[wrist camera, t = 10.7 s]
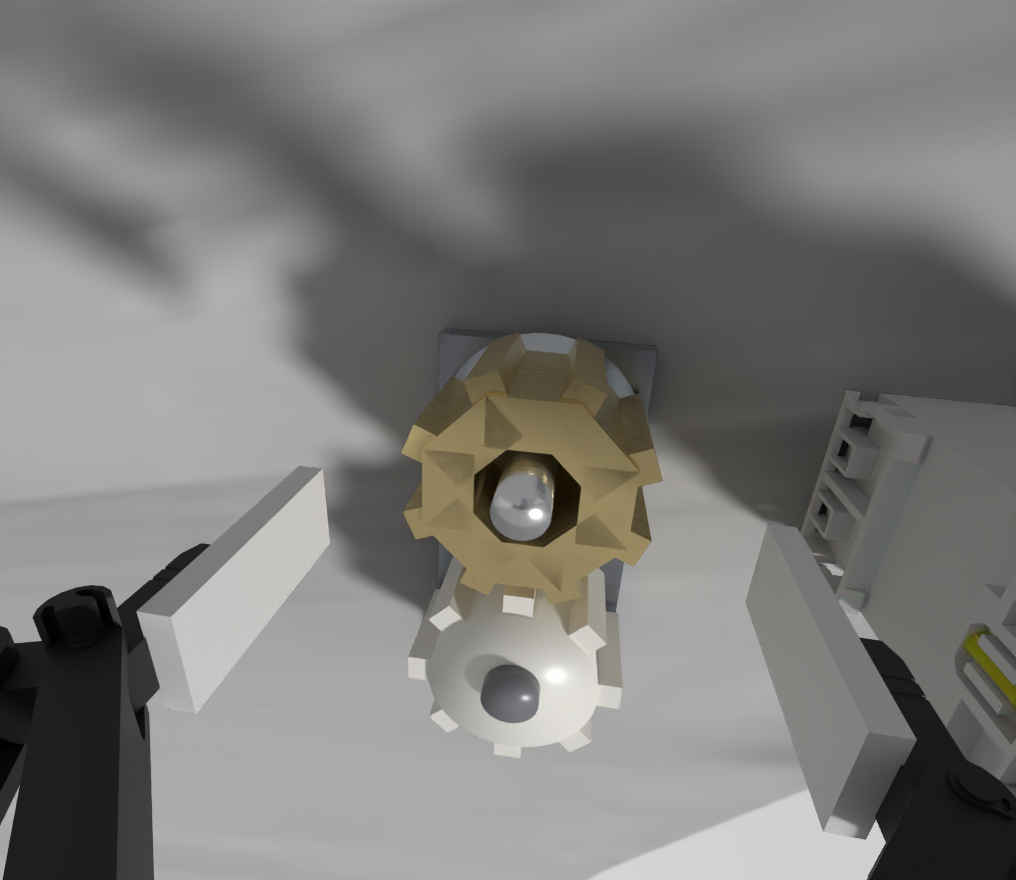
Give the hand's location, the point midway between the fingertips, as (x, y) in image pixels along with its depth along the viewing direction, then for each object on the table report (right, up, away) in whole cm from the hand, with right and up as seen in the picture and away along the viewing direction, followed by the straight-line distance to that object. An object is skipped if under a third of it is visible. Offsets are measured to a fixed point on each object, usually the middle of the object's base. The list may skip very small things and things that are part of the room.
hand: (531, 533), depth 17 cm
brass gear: (+1, +3, +8) cm, 8 cm away
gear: (0, -6, +11) cm, 13 cm away
